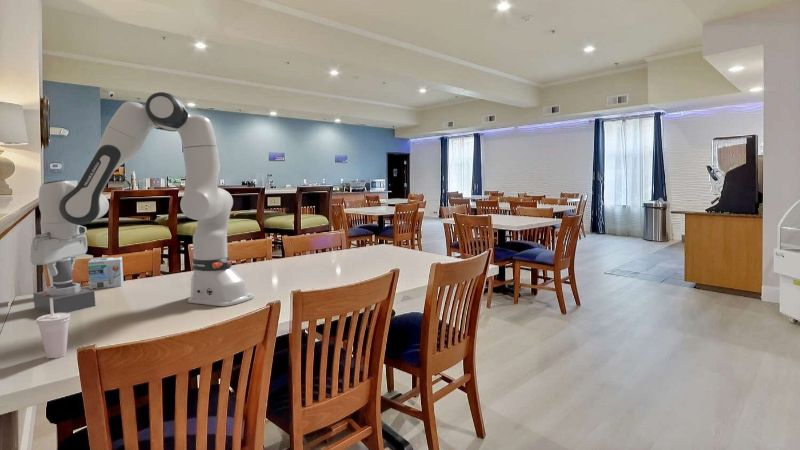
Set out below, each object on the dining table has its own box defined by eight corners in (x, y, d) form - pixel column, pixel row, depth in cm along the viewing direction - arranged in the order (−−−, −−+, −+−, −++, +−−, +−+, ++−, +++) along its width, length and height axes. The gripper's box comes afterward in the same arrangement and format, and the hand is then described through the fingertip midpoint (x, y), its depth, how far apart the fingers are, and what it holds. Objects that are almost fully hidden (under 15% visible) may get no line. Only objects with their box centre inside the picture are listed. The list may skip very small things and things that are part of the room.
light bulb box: (89, 289, 164) (86, 261, 163) (91, 285, 170) (89, 258, 169) (122, 286, 169) (120, 259, 168) (124, 282, 175) (122, 256, 174)
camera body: (95, 305, 144) (93, 285, 143) (56, 314, 134) (55, 292, 133) (73, 299, 150) (71, 280, 149) (34, 308, 141) (32, 287, 140)
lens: (76, 283, 144) (74, 256, 143) (65, 286, 139) (63, 259, 138) (60, 282, 144) (58, 256, 143) (48, 286, 139) (46, 259, 138)
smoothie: (67, 348, 109) (62, 293, 107) (77, 354, 105) (73, 298, 103) (35, 356, 103) (30, 299, 102) (44, 363, 100) (39, 304, 98)
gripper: (43, 235, 129) (47, 280, 131) (90, 227, 149) (92, 266, 151) (21, 235, 129) (25, 280, 130) (71, 227, 149) (74, 266, 151)
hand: (62, 273), depth 141 cm, fingers closed on lens, 5 cm apart
